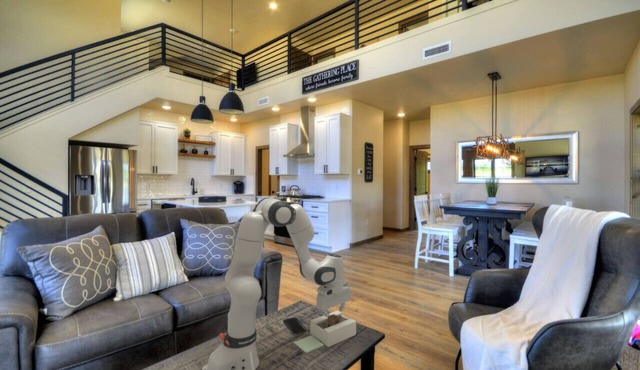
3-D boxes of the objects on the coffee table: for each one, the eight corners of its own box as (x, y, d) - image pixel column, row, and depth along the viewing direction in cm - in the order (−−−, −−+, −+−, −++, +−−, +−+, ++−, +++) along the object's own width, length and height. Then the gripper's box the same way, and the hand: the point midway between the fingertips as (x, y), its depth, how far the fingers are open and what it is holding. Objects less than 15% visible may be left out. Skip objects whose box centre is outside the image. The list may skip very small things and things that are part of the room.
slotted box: (328, 347, 139) (328, 332, 139) (310, 334, 150) (310, 320, 150) (355, 334, 150) (356, 321, 150) (337, 323, 161) (337, 310, 161)
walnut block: (332, 333, 148) (333, 319, 147) (327, 330, 151) (327, 316, 150) (338, 330, 150) (339, 317, 150) (333, 327, 153) (333, 314, 153)
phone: (295, 317, 166) (307, 329, 153) (295, 319, 166) (307, 332, 153) (282, 319, 163) (293, 333, 149) (282, 322, 163) (293, 335, 149)
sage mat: (306, 353, 134) (306, 352, 134) (293, 343, 142) (293, 342, 142) (323, 345, 140) (323, 344, 140) (310, 336, 148) (310, 335, 148)
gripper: (345, 279, 158) (345, 305, 159) (314, 289, 146) (314, 317, 146) (354, 283, 153) (353, 310, 154) (322, 293, 141) (322, 322, 141)
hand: (334, 313), depth 150 cm, fingers open, 8 cm apart
